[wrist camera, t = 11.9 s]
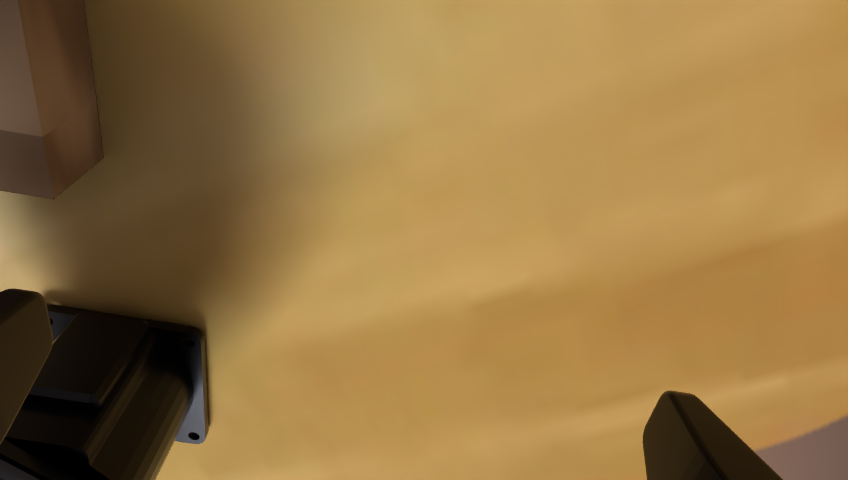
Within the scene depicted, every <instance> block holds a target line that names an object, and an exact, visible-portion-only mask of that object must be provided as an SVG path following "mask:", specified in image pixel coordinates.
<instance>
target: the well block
mask: <svg viewBox="0 0 848 480" xmlns="http://www.w3.org/2000/svg"><path fill="white" fill-rule="evenodd" d="M102 158H104V156H103V148H102V140H101V132H100V125H99V117H98V109H97V101H96V94H95V86H94V78H93V70H92V62H91V55H90V47H89V39H88V31H87V24H86V16H85V8H84V0H0V191H6V192H12V193H19V194H25V195H31V196H37V197H43V198H50V199H55V198H56V197H57V196H58V195H60V194H61V193H62V192H63V191H64V190H65V189H67V188H68V187H69V186H70V185H71V184H73V183H74V182H75V181H76V180H77V179H79V178H80V177H81V176H82V175H83V174H85V173H86V172H87V171H88V170H89V169H90V168H92V167H93V166H94V165H95V164H96V163H98V162H99V161H100V160H101V159H102Z"/></svg>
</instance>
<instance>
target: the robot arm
mask: <svg viewBox="0 0 848 480" xmlns="http://www.w3.org/2000/svg"><path fill="white" fill-rule="evenodd" d="M49 317H50V318H49ZM188 338H191V339H192V340H193V341H192V340H189V339H188ZM207 434H208V407H207V383H206V358H205V337H204V334H203V333H202V332H201V330H199V329H198V328H196V327H192V326H187V325H180V324H174V323H167V322H161V321H154V320H148V319H141V318H135V317H128V316H122V315H115V314H109V313H102V312H96V311H89V310H83V309H77V308H70V307H64V306H57V305H51V304H46V301H45V298H44V297H43V296H42V295H41V294H40V293H38V292H34V291H27V290H21V289H7V290H4V291H2V292H0V480H155V479H156V477H157V475H158V473H159V471H160V469H161V467H162V465H163V463H164V461H165V459H166V457H167V455H168V453H169V451H170V449H171V447H172V445H173V443H174V441H179V442H186V443H192V444H200V443H203V442H204V441H205V439H206V436H207ZM643 449H644V457H645V466H646V474H647V480H783V479H782V478H781V477H780V476H779V475H778V474H777V473H776V472H775V471H773V469H771V468H770V467H769V466H768V465H767V464H766V463H765V462H764V461H763V460H762V459H761V458H760V457H759V456H758V455H757V454H756V453H755V452H754V451H753V450H752V449H751V448H750V447H749V446H748V445H747V444H746V443H744V442H743V441H742V440H741V439H740V438H739V437H738V436H737V435H736V434H735V433H734V432H733V431H732V430H731V429H730V428H729V427H728V426H727V425H726V424H725V423H724V422H723V421H722V420H721V419H720V418H718V417H717V416H716V415H715V414H714V413H713V412H712V411H711V410H710V409H709V408H708V407H707V406H706V405H705V404H704V403H703V402H702V401H701V400H700V399H699V398H697V397H696V396H695V395H693V394H690V393H683V392H677V391H666V392H664V393H663V394H662V395H661V397H660V398H659V400H658V402H657V404H656V406H655V408H654V410H653V412H652V414H651V416H650V418H649V420H648V422H647V424H646V426H645V429H644V433H643Z"/></svg>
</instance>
